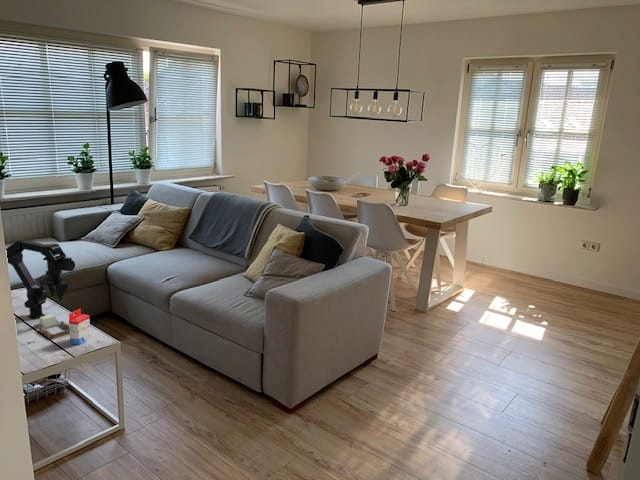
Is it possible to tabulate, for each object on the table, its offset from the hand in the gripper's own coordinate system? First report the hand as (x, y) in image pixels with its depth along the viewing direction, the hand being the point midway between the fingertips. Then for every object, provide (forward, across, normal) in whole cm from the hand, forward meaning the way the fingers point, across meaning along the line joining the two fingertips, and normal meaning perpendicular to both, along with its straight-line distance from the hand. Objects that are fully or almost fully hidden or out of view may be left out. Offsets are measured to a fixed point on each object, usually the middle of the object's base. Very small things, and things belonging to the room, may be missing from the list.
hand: (56, 298), depth 251 cm
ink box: (+12, +31, -2) cm, 34 cm away
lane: (+12, +14, -6) cm, 20 cm away
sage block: (+12, +3, -6) cm, 13 cm away
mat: (+12, +4, -6) cm, 14 cm away
